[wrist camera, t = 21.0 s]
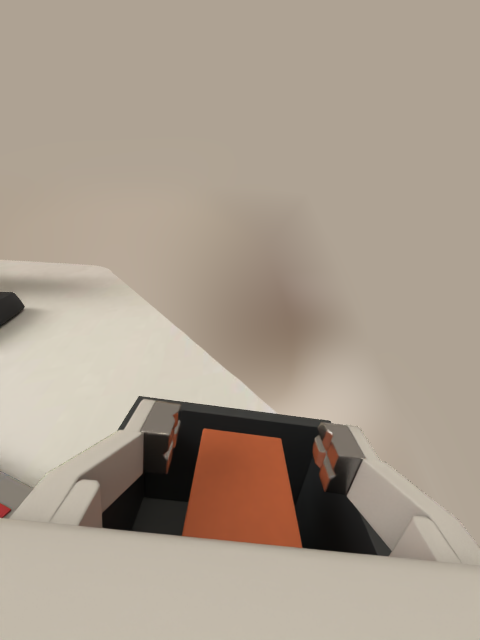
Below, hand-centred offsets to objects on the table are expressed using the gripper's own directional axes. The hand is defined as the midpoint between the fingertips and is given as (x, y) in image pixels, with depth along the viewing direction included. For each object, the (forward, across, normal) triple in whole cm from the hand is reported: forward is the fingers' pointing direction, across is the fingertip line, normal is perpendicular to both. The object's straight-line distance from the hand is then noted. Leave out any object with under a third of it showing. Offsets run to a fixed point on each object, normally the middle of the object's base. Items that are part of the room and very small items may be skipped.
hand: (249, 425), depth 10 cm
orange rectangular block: (-1, 0, +13) cm, 13 cm away
